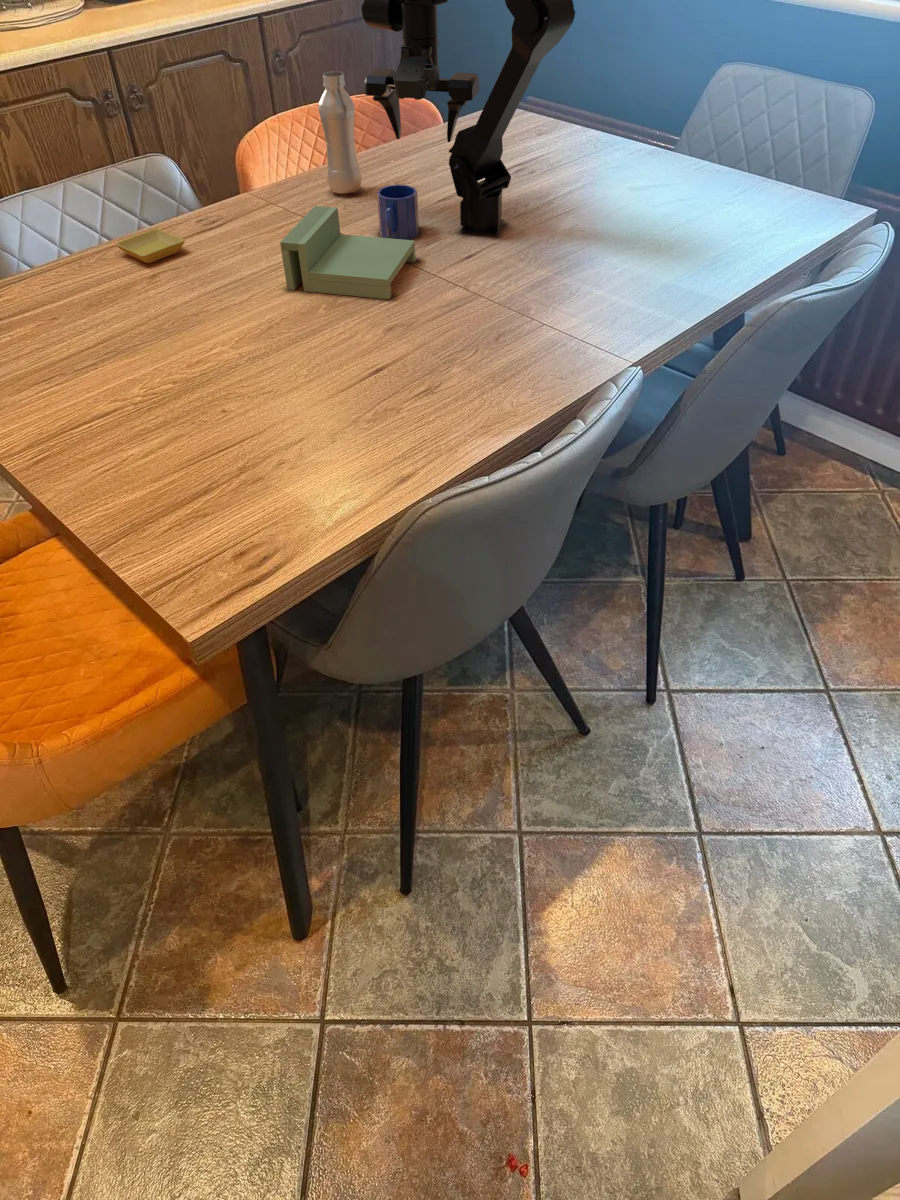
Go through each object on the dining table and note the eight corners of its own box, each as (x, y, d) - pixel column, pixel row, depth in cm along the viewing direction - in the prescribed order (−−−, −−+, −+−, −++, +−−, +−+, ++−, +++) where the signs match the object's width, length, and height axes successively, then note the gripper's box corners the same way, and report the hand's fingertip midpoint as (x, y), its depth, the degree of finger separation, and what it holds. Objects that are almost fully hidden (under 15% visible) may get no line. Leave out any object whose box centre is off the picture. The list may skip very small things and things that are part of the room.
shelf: (415, 259, 144) (413, 213, 138) (389, 299, 133) (385, 251, 128) (320, 250, 147) (314, 205, 141) (287, 289, 137) (279, 242, 131)
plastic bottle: (357, 198, 163) (346, 79, 149) (323, 197, 164) (309, 78, 150) (366, 186, 168) (356, 69, 154) (333, 184, 169) (320, 68, 155)
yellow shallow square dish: (117, 254, 147) (113, 242, 146) (160, 239, 152) (157, 227, 150) (145, 268, 143) (142, 256, 142) (188, 252, 147) (185, 240, 146)
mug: (422, 227, 153) (421, 186, 148) (408, 248, 147) (406, 205, 142) (387, 224, 154) (384, 183, 149) (371, 244, 148) (367, 202, 143)
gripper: (349, 45, 135) (358, 151, 146) (463, 50, 132) (464, 159, 143) (371, 29, 143) (378, 131, 154) (480, 33, 139) (479, 137, 150)
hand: (423, 140), depth 150 cm, fingers open, 9 cm apart
